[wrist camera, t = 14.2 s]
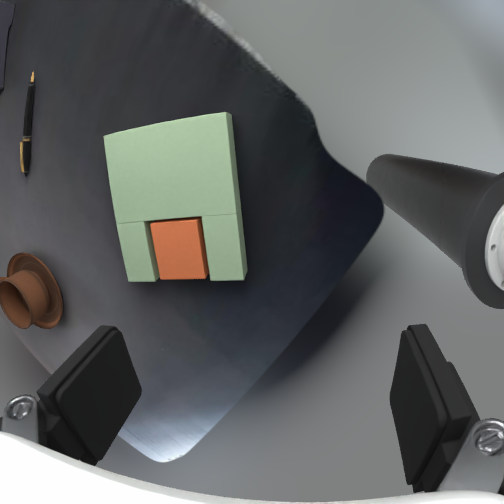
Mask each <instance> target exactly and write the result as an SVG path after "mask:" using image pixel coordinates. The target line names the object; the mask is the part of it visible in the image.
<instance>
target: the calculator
mask: <svg viewBox="0 0 504 504" xmlns="http://www.w3.org/2000/svg"><path fill="white" fill-rule="evenodd" d="M14 8H15V4H12V3H7V2H2V1H0V91H2V90H3V88H4V68H5V55H6V45H7V37H8V29H9V27H10V25H11V24H12V20H13V14H14Z"/></svg>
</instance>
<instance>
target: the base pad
mask: <svg viewBox="0 0 504 504" xmlns="http://www.w3.org/2000/svg"><path fill="white" fill-rule="evenodd" d="M104 142H105V151H106V159H107V167H108V174H109V181H110V188H111V195H112V201H113V207H114V212H115V218H116V223H117V229H118V234H119V239H120V244H121V249H122V254H123V258H124V263H125V267H126V272H127V276H128V280H129V282H155V281H156V280H157V279H158V278H159V277H160V274H159V269H158V264H157V259H156V253H155V248H154V243H153V237H152V231H151V226H150V224H151V223H153V222H154V220H163V219H174V218H186V217H199V216H202V224H203V231H204V238H205V245H206V252H207V259H208V266H209V273H210V279H211V281H225V280H244V278H245V276H246V273H247V271H248V270H247V260H246V251H245V241H244V232H243V222H242V213H241V204H240V194H239V184H238V175H237V165H236V155H235V145H234V135H233V125H232V115H231V114H229V113H226V112H223V113H215V114H209V115H202V116H196V117H190V118H184V119H178V120H173V121H167V122H162V123H157V124H152V125H148V126H143V127H139V128H134V129H130V130H126V131H121V132H117V133H113V134H109V135H105V136H104Z"/></svg>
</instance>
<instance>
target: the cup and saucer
mask: <svg viewBox="0 0 504 504" xmlns="http://www.w3.org/2000/svg"><path fill="white" fill-rule="evenodd" d="M0 281H2V282H0V305H1V307H2V309H3V311H4V313H5V314H6V316H7V317H8V319H9V320H10V321H11V322H12V323H13V324H14V325H15V326H17V327H19V328H21V329H27V328H28V327H30V326H31V325H32V324H34V325H36V326H38V327H40V328H44V329H51V328H54V327H55V326H56V325H57V324H58V323H59V321H60V320H61V317H62V313H63V303H62V296H61V292H60V289H59V287H58V284H57V282H56V280H55V278H54V276H53V275H52V273H51V271H50V270H49V269H48V268H47V266H46V265H45V264H44V263H43V262H42V261H41V260H39V259H38V258H37V257H35V256H33V255H31V254H29V253H18V254H16V255H14V256H13V257H12V258H11V260H10V262H9V264H8V268H7V277H0Z"/></svg>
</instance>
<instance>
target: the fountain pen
mask: <svg viewBox="0 0 504 504" xmlns="http://www.w3.org/2000/svg"><path fill="white" fill-rule="evenodd" d="M33 80H34V73H32V76H31V82H29V88H28V94H27V101H26V108H25V117H24V131H23V139H22V142H20V159H21V171H22V172H24V174H25V176H27V173H28V171H29V163H30V147H31V121H32V106H33V94H34V83H35V82H34V81H33ZM22 163H23V164H22Z"/></svg>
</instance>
